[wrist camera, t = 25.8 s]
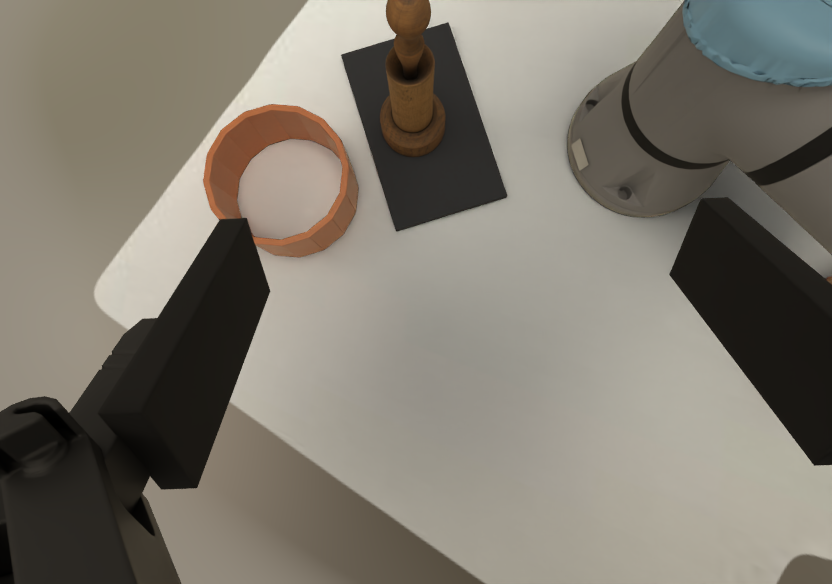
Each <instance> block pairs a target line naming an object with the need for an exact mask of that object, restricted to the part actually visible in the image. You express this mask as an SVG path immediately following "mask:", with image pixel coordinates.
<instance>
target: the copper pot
mask: <svg viewBox="0 0 832 584" xmlns="http://www.w3.org/2000/svg"><path fill="white" fill-rule="evenodd" d="M290 138H292V139H304V140H313V141H315V142H317V143H319V144H321V145H323V146H325V147H327V148H329V149H331V150H332V151H333V152H334V153H335V154H336V155H337V157H338V158H339V159H340V160H341V163H342V167H343V168H342V178H341V187H340V193H339V195H338V197H337V198H336V200H335V202H334V204H333V206H332V207H331V209H330V211H329V213H328V215H327V216H326V217H324V218H323V219H322V220H321V221H319V222H318V223H317V224H316V225H314V226H313V227H312V228H311V229H310V230H308V231H307V232H304V233H301V234H298V235H295V236H291V237H288V238H285V239H282V240H280V239H269V238H257V237H255V236H254V235H253V234H252V236H253V239H254V243H255V245H256V246H258V247H260V248H262V249H264V250H266V251H268V252H270V253H272V254H273V255H279V256H290V257H303V256H306V255H309V254H312V253H316V252H319V251H322V250H324V249H326V248H327V247H328V246H330V245H331V244H332V243H333V242H334V241H336V240H337V239H338V238H339V237H341V236H342V235H343V233H345V231H346V229H347V227H348V225H349V224H350V222H351V220H352V218H353V216H354V214H355V213H356V206H357V197H358V184H357V181H356V178H355V174H354V171H353V168H352V165H351V162H350V160H349V157H348V155H347V153H346V150H345V148H344V146H343V143H342V141H341V139H340V138H339V137H338V136H337V134H336V133H335V132H334V131H333V130H332V128H331V127H330V126H329V125H328V124H327V123H326V121H325V120H324V119H322V118H320V117H318V116H317V115H315V114H313V113H311V112H309V111H307V110H305V109H303V108H301V107H298V106H287V105H275V104H271V105H270V104H269V105H266V106H263V107H260V108H256V109H253V110H250V111H246V112H244V113H242V114H241V115H240V116H238V117H237V118H236V119H235V120H233V121H232V122H231V123H229V124H228V125H227V126H226V127H224V128H223V129H222V130H221V131H220V133H219V134H218V136H217V138H216V140H215V141H214V143H213V145H212V146H211V148H210V150H209V152H208V153H207V154H208V155H207V158H206V165H205V172H204V179H203V183H204V187H205V190H206V194H207V198H208V201H209V205H210V208H211V210H212V211H213V213H214V214H215V215H216V216H217V218H218V219H219V220H220V219H235V218H241V214H240V211H239V207H238V203H237V195H238V187H239V179H240V177H241V175H242V174H243V172H244V170H245V168H246V167H247V165H248V163H249V161H250V160H251V158H253V157H254V156H255V155H256V154H258V153H259V152H260V151H262V150H263V149H264V148H265V147H267V146H268V145H270V144H273V143H277V142H280V141H283V140H287V139H290Z"/></svg>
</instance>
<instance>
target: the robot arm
mask: <svg viewBox="0 0 832 584" xmlns="http://www.w3.org/2000/svg"><path fill="white" fill-rule="evenodd" d="M567 147H568V156H569V161H570V164H571V167H572V170H573V172H574V174H575V176H576V178H577V180H578V181H579V183H580V184H581V186H582V187H583V188H584V190H585V191H586V192H587V193H588V194H589V195H590V196H591V197H592V198H593V199H595V200H596V201H597V202H598V203H600V204H601V205H603V206H605V207H606V208H608V209H610V210H612V211H615V212H617V213H620V214H623V215H628V216H633V217H655V216H661V215H664V214H668V213H671V212H673V211H675V210H677V209H679V208H682V207H684V206H686V205H688V204H689V203H691V202H693V201H694V200H695V199H697V198H698V197H699V196H700V195H702V194H703V193H704V192H705V191H706V190H707V189H708V188H709V187H710V186H711V185H712V184H713V182H714V181H715V180H716V178H717V177H718V176H719V174H720V173H721V172H722V170H723V169H724V168H725V166H726V165H727V164H728V162H729V161H730V160H731V161H732V162H733V163H734V164H735V165H736V166H737V167H738V168H740V169H741V170H742V171H743V172H744V173H745V174H746V175H747V176H748V177H750V178H751V179H752V180H753V181H754V182H755V183H756V184H757V185H758V186H759V187H760V188H761V189H762V190H763V191H764V192H765V193H767V194H768V195H769V196H770V197H771V198H772V199H773V200H774V201H775V202H776V203H777V204H778V205H779V206H780V207H781V208H782V209H784V210H785V211H786V212H787V213H788V214H789V215H790V216H791V217H792V218H793V219H794V220H795V221H796V222H797V223H798V224H799V225H801V226H802V227H803V228H804V229H805V230H806V231H807V232H808V233H809V234H810V235H811V236H812V237H813V238H814V239H815V240H816V241H818V242H819V243H820V244H821V245H822V246H823V247H824V248H825V249H826V250H827V251H828V252H829V253H830V254H831V255H832V0H685V1H684V2H683V3H682V4H681V6H680V7H679V8H678V10H677V11H676V12H675V13H674V15H673V16H672V17H671V19H670V20H669V21H668V22H667V24H666V25H665V26H664V27H663V29H662V30H661V31H660V33H659V34H658V35H657V36H656V38H655V39H654V40H653V41H652V42H651V44H650V45H649V46H648V47H647V49H646V50H645V51H644V52H643V54H642V55H641V56H640V58H639V59H638V60H637V61H636V62H634V63H632V64H630V65H628V66H627V67H625V68H623V69H621V70H619V71H617V72H615V73H614V74H612V75H610V76H608V77H607V78H605V79H604V80H603V81H601V82H600V83H599V84H598V85H597V86H596V87H594V88H593V89H592V90H591V91H590V92H589V94H588V95H587V96H586V97H585V99H584V100H583V101H582V103H581V104H580V106H579V107H578V109H577V110H576V112H575V114H574V116H573V118H572V121H571V124H570V127H569V132H568V142H567ZM669 275H670V276H671V277H672V279H673V280H674V281H675V283H676V284H677V285H678V287H679V288H680V289H681V291H682V292H683V293H684V295H685V296H686V297H687V299H688V300H689V301H690V302H691V304H692V305H693V306H694V308H695V309H696V310H697V312H698V313H699V314H700V316H701V317H702V318H703V320H704V321H705V322H706V324H707V325H708V326H709V327H710V329H711V330H712V331H713V333H714V334H715V335H716V337H717V338H718V339H719V341H720V342H721V343H722V345H723V346H724V347H725V349H726V350H727V351H728V353H729V354H730V355H731V356H732V358H733V359H734V360H735V362H736V363H737V364H738V366H739V367H740V368H741V370H742V371H743V372H744V374H745V375H746V376H747V378H748V379H749V380H750V381H751V383H752V384H753V385H754V387H755V388H756V389H757V391H758V392H759V393H760V395H761V396H762V397H763V399H764V400H765V401H766V403H767V404H768V405H769V407H770V408H771V409H772V410H773V412H774V413H775V414H776V416H777V417H778V418H779V420H780V421H781V422H782V424H783V425H784V426H785V428H786V429H787V430H788V432H789V433H790V434H791V435H792V437H793V438H794V439H795V441H796V442H797V443H798V445H799V446H800V447H801V449H802V450H803V451H804V453H805V454H806V455H807V457H808V458H809V459H810V460H811V462H812V463H813V464H814V466H815V465H832V284H831V283H829V282H828V281H827V280H826V279H825V278H823V277H822V276H821V275H820V274H819V273H817V272H816V271H815V270H814V269H813V268H811V267H810V266H809V265H808V264H807V263H805V262H804V261H803V260H802V259H801V258H800V257H798V256H797V255H796V254H795V253H794V252H792V251H791V250H790V249H789V248H788V247H786V246H785V245H784V244H783V243H782V242H780V241H779V240H778V239H777V238H776V237H774V236H773V235H772V234H771V233H770V232H768V231H767V230H766V229H765V228H764V227H763V226H761V225H760V224H759V223H758V222H757V221H755V220H754V219H753V218H752V217H751V216H749V215H748V214H747V213H746V212H745V211H743V210H742V209H741V208H740V207H739V206H737V205H736V204H735V203H734V202H733V201H732V200H730V199H729V198H728V197H725V198H702V199H701V200H700V202H699V204H698V207H697V209H696V212H695V214H694V217H693V219H692V221H691V224H690V226H689V229H688V231H687V233H686V236H685V238H684V241H683V243H682V246H681V248H680V250H679V253H678V255H677V258H676V260H675V262H674V265H673V267H672V270H671V272H670V274H669ZM269 293H270V289H269V286H268V283H267V280H266V277H265V273H264V270H263V267H262V264H261V261H260V258H259V255H258V252H257V249H256V246H255V243H254V239H253V236H252V233H251V230H250V227H249V224H248V221H247V218H235V219H220V220H219V222H218V224H217V225H216V227H215V228H214V230H213V231H212V233H211V235H210V236H209V238H208V239H207V241H206V243H205V244H204V246H203V247H202V249H201V250H200V252H199V254H198V255H197V257H196V258H195V260H194V261H193V263H192V265H191V266H190V268H189V269H188V271H187V272H186V274H185V276H184V277H183V279H182V280H181V282H180V284H179V285H178V287H177V288H176V290H175V291H174V293H173V295H172V296H171V298H170V299H169V301H168V302H167V304H166V306H165V307H164V309H163V310H162V312H161V313H160V315H159V317H158V318H151V319H142V320H141V321H139V322H138V323H137V324H136V325H135V326H133V327H132V328H131V329H130V330H128V331H127V332H126V333H125V334H124V335H123V336H122V338H121V339H120V341H119V342H118V344H117V345H116V346H115V348H114V349H113V351H112V355H109V356H108V358H107V360H106V361H105V362H104V364H103V365H102V370H99V371H98V372H97V374H96V375H95V377H94V378H93V380H92V381H91V382H90V384H89V385H88V387H87V388H86V390H85V391H84V393H83V394H82V395H81V397H80V398H79V400H78V401H77V403H76V404H75V406H74V407H73V408H72V410H71V411H70V413H68V412H67V410H66V409H65V408H64V407H63V406H62V405H61V404H60V403H59V402H58V400H57V399H53V398H49V397H37V398H30V399H27V400H24V401H21V402H18V403H16V404H13V405H11V406H9V407H8V408H6V409H4V410H2V411H1V412H0V584H181V582H180V579H179V577H178V574H177V572H176V569H175V567H174V564H173V562H172V559H171V557H170V554H169V552H168V549H167V547H166V544H165V542H164V539H163V537H162V534H161V532H160V529H159V527H158V524H157V522H156V519H155V517H154V514H153V512H152V509H151V507H150V505H149V502H148V500H147V499H146V497H145V496H144V495H143V494H142V492H143V490H144V488H145V486H146V483H147V481H148V479H149V477H150V476H151V478H152V479H153V480H154V481H155V482H156V484H157V485H158V486H159V487H160V488H161V489H186V488H197V487H198V484H199V481H200V479H201V476H202V473H203V471H204V468H205V465H206V462H207V460H208V457H209V454H210V452H211V449H212V446H213V443H214V441H215V438H216V436H217V433H218V430H219V428H220V425H221V422H222V419H223V417H224V414H225V411H226V409H227V406H228V403H229V401H230V398H231V395H232V393H233V390H234V387H235V384H236V382H237V379H238V376H239V374H240V371H241V368H242V366H243V363H244V360H245V358H246V355H247V352H248V350H249V347H250V344H251V341H252V339H253V336H254V333H255V331H256V328H257V325H258V323H259V320H260V317H261V315H262V312H263V309H264V306H265V304H266V301H267V298H268V296H269Z"/></svg>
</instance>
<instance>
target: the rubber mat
mask: <svg viewBox="0 0 832 584" xmlns="http://www.w3.org/2000/svg"><path fill="white" fill-rule="evenodd" d="M421 35H422V36H423V39H424V44H425V45H427V46H428V47H429V48H430V50H431V51H432V53H433V56H434V60H435V68H434V84H433V93H434V94H435V95H436V96H437V97H438V98H439V100H440V101H441V103H442V105H443V107H444V111H445V131H444V135H443V138H442V140H441V142H440V144H439V145H438V146H437V147H436V148H435V149H434V150H433V151H431V152H430V153H428V154H426V155H423V156H419V157H408V156H404V155H402V154H399V153H397V152H396V151H394V150H393V149H392V148H391V147H390V146H389V145H388V143H387V142H386V140H385V138H384V136H383V133H382V129H381V122H380V112H381V108H382V105H383V103H384V101H385V100H386V98H387V97H388V96H389V95H390V92H389V85H388V79H387V73H386V67H385V62H386V58H387V55H388V53H389V52H390V50H391V49H392V48H393V47H394V39H392V40H388V41H385V42H382V43H378V44H375V45H372V46H369V47H365V48H362V49H359V50H355V51H352V52H349V53H345V54H342V55H341V56H342V59H343V62H344V66H345V69H346V72H347V75H348V78H349V82H350V85H351V88H352V91H353V94H354V98H355V101H356V104H357V107H358V110H359V114H360V117H361V120H362V123H363V126H364V130H365V133H366V136H367V139H368V142H369V146H370V149H371V152H372V155H373V158H374V162H375V165H376V168H377V171H378V174H379V178H380V181H381V184H382V187H383V190H384V194H385V197H386V200H387V203H388V206H389V210H390V213H391V216H392V219H393V222H394V226H395V229H396V231H400V230H403V229H406V228H409V227H413V226H416V225H419V224H422V223H426V222H429V221H432V220H435V219H439V218H442V217H445V216H448V215H451V214H455V213H458V212H461V211H464V210H468V209H471V208H474V207H477V206H481V205H484V204H487V203H490V202H494V201H497V200H500V199H503V198H506V197H507V193H506V190H505V187H504V184H503V182H502V179H501V176H500V173H499V170H498V167H497V164H496V161H495V158H494V155H493V152H492V149H491V146H490V143H489V140H488V137H487V134H486V132H485V129H484V126H483V123H482V120H481V117H480V114H479V111H478V108H477V105H476V102H475V99H474V96H473V93H472V90H471V87H470V85H469V82H468V79H467V76H466V73H465V70H464V67H463V64H462V61H461V58H460V55H459V52H458V49H457V46H456V43H455V40H454V37H453V35H452V32H451V29H450V26H449V23H445V24H441V25H438V26H435V27H431V28H428V29H426V30H425V31H424V32H423V33H422V34H421Z"/></svg>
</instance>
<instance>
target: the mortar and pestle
mask: <svg viewBox="0 0 832 584" xmlns="http://www.w3.org/2000/svg"><path fill="white" fill-rule="evenodd" d="M386 17H387V21H388V24H389V26H390V27H391V29H392V30H393V31H394V32H395V33H396V34H397V35H396V37H395V39H394V47H393V48H392V49H391V50H390V52H389V53H388V55H387V58H386V62H385V67H386V73H387V79H388V85H389V92H390V95H389V96H388V97H387V98H386V100H385V101H384V103H383V105H382V108H381V112H380V122H381V129H382V133H383V136H384V138H385V140H386V142H387V143H388V145H389V146H390V147H391V148H392V149H393V150H394V151H396V152H397V153H399V154H402V155H404V156H408V157H419V156H423V155H426V154H428V153H430V152H431V151H433V150H434V149H435V148H436V147H437V146H438V145H439V144H440V142H441V140H442V138H443V135H444V131H445V111H444V107H443V105H442V103H441V101H440V100H439V98H438V97H437V96H436V95H435V94H434V93H433V84H434V68H435V60H434V56H433V53H432V51H431V50H430V48H429V47H428V46H427V45H425V44H424V39H423V36H422V35H421V34H422V33H423V32H424V31H425V30H426V28H427V26H428V24H429V22H430V17H431V7H430V3H429V0H388V1H387V5H386Z"/></svg>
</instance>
